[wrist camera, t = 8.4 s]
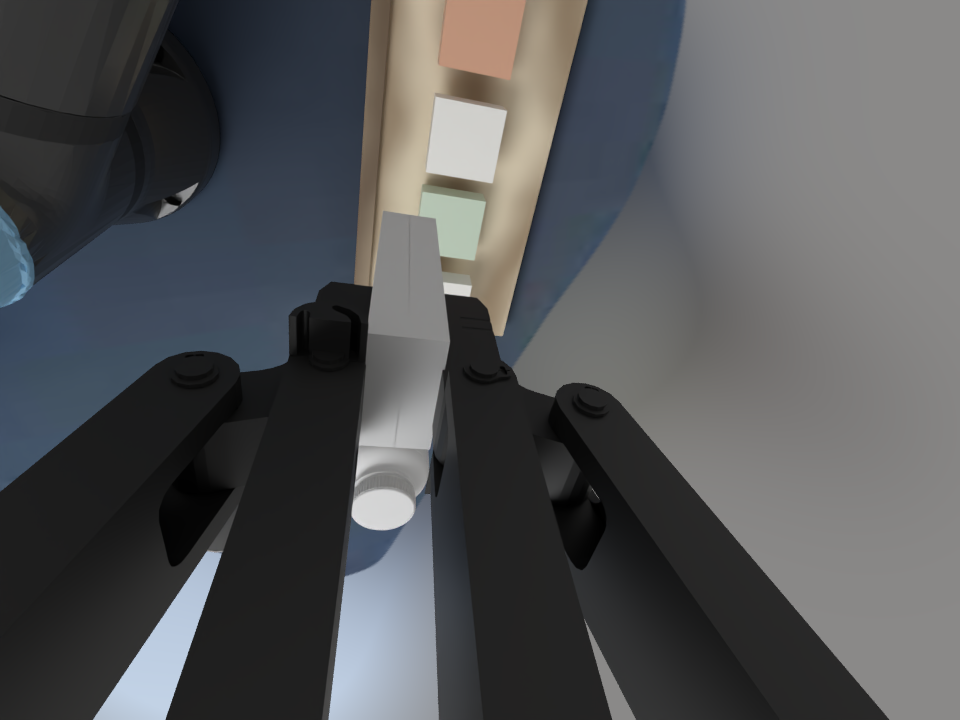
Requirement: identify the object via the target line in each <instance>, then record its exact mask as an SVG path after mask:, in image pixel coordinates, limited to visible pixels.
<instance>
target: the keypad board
mask: <svg viewBox="0 0 960 720" xmlns="http://www.w3.org/2000/svg"><path fill="white" fill-rule="evenodd" d="M587 1H588V0H526V3H525V8H524V13H523V18H522V23H521V28H520V33H519V38H518V43H517V48H516V53H515V59H514V64H513V69H512V74H511V79H510V80H506V79H501V78H497V77H492V76H487V75H482V74H478V73H473V72H468V71H463V70H459V69H454V68H449V67H444V66H440V65H438V63H437V62H438V54H439V46H440V38H441V30H442V22H443V14H444V6H445V0H371V14H370V31H369V47H368V64H367V80H366V97H365V113H364V130H363V146H362V163H361V179H360V196H359V212H358V229H357V245H356V262H355V278H354V284H355V285H363V286H372V287H373V281H374V273H375V266H376V259H377V251H378V244H379V237H380V229H381V222H382V215H383V211H388V212H395V213H402V214H408V215H415V216H418V212H419V204H420V196H421V188H422V184H426V185H432V186H438V187H444V188H450V189H456V190H463V191H469V192H475V193H481V194H483V195H484V198H485V200H486V205H485V210H484V215H483V220H482V225H481V230H480V235H479V240H478V245H477V250H476V255H475V260H474V261H473V260H466V259H459V258H451V257H444V256H440V259H441V268H442V272H450V273H457V274H465V275H470V279H471V284H472V288H471V293H470V297H475V298H478V299H479V300H480V301H481V302H482V303H483V304H484V305H485V307H486V308H487V309H488V312H489V316H490V322H491V324H492V328H493V332H494V335H496V336H503V332H504V329H505V325H506V321H507V317H508V313H509V309H510V305H511V301H512V297H513V293H514V289H515V285H516V281H517V277H518V273H519V269H520V265H521V262H522V258H523V254H524V250H525V246H526V242H527V238H528V234H529V230H530V226H531V222H532V218H533V214H534V210H535V206H536V202H537V198H538V194H539V191H540V187H541V183H542V179H543V175H544V171H545V167H546V163H547V159H548V155H549V151H550V147H551V143H552V139H553V135H554V131H555V127H556V124H557V120H558V116H559V112H560V108H561V104H562V100H563V96H564V92H565V88H566V84H567V80H568V76H569V72H570V68H571V64H572V60H573V57H574V53H575V49H576V45H577V41H578V37H579V33H580V29H581V25H582V21H583V17H584V13H585V9H586V5H587ZM434 92H435V93H440V94H445V95H450V96H455V97H460V98H465V99H470V100H475V101H480V102H485V103H490V104H495V105H500V106H503V107H504V108H505V109H506V110H507V114H506V119H505V124H504V129H503V134H502V139H501V144H500V149H499V154H498V159H497V164H496V169H495V174H494V179H493V183H487V182H481V181H475V180H469V179H463V178H457V177H451V176H445V175H439V174H433V173H427V172H426V168H425V163H426V155H427V147H428V139H429V132H430V124H431V116H432V108H433V100H434Z"/></svg>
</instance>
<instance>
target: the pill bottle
mask: <svg viewBox="0 0 960 720" xmlns="http://www.w3.org/2000/svg"><path fill="white" fill-rule="evenodd" d="M428 475H429V458H428V449H412V448H395V447H378V446H361V445H359V448H358V460H357V470H356V479H355V488H354V497H353V506H352V517H353V518H354V520H355V521H356V522H357V523H358V524H360V525H362V526H364V527H366V528H369V529H374V530H389V529H393V528H397V527H399V526H401V525H403V524H405V523H406V522H408V521H409V520H410V519H411V517H412V516H413V515H414V512H415V509H416V500H415V497H416V496H417V495H418V494H419V493H420V492H421V491H422V489H423V488H424V486H425V484H426V482H427V479H428Z"/></svg>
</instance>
